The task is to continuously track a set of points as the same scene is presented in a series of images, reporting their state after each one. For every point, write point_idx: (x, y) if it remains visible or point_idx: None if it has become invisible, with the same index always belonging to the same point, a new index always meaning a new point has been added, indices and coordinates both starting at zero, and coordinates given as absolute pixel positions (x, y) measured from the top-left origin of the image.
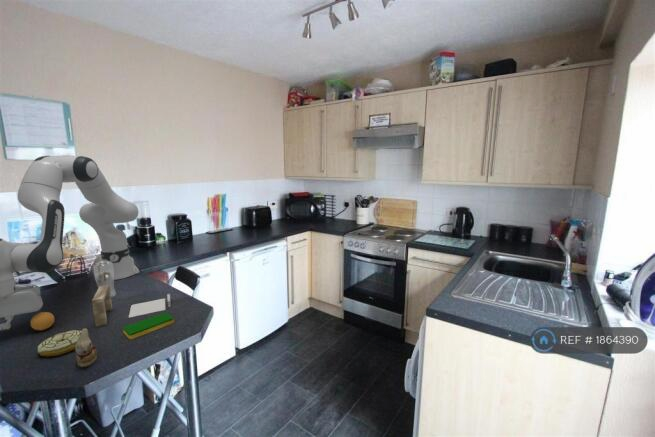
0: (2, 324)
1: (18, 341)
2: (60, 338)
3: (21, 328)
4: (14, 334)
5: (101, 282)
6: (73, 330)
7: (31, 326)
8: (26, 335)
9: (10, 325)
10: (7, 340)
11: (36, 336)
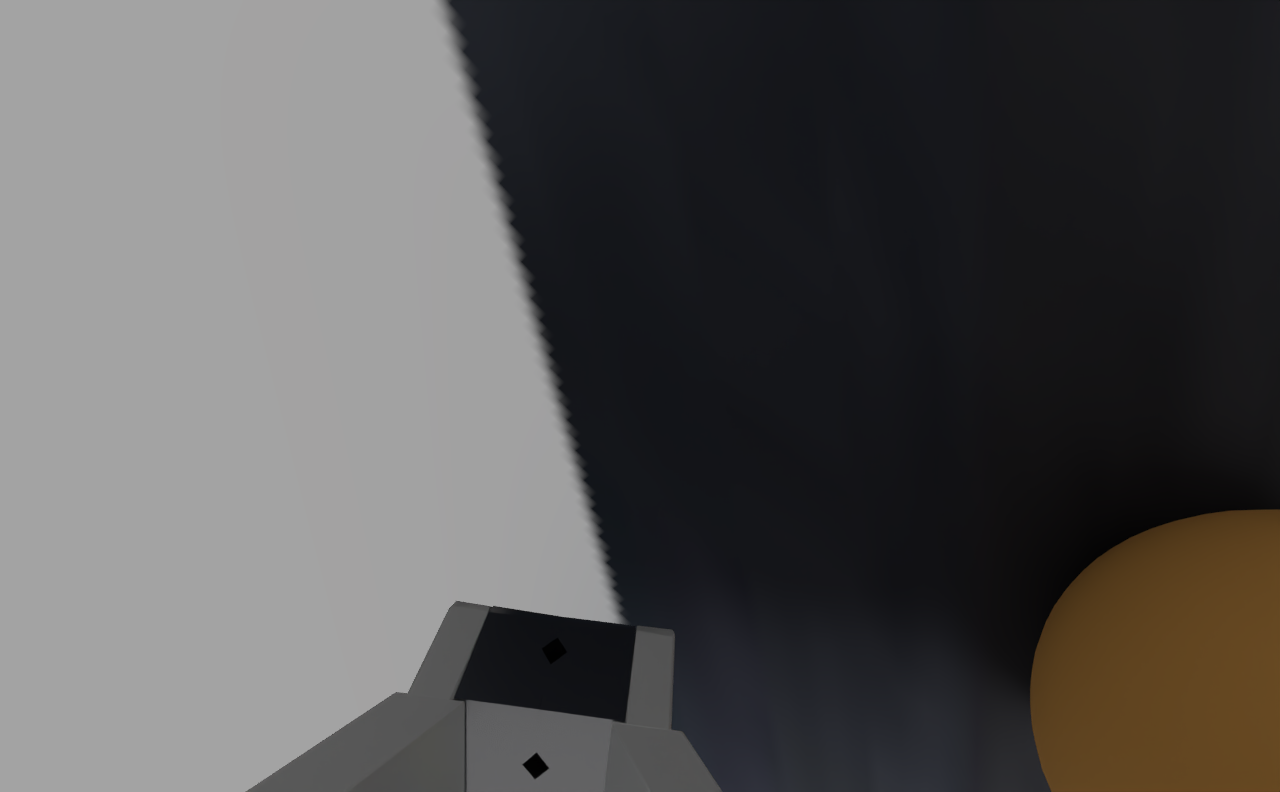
0: (528, 759)
1: (805, 784)
2: None
3: (779, 246)
4: (705, 491)
5: None
6: None
7: (1038, 754)
8: (891, 659)
9: (672, 658)
10: None
11: (1020, 781)
